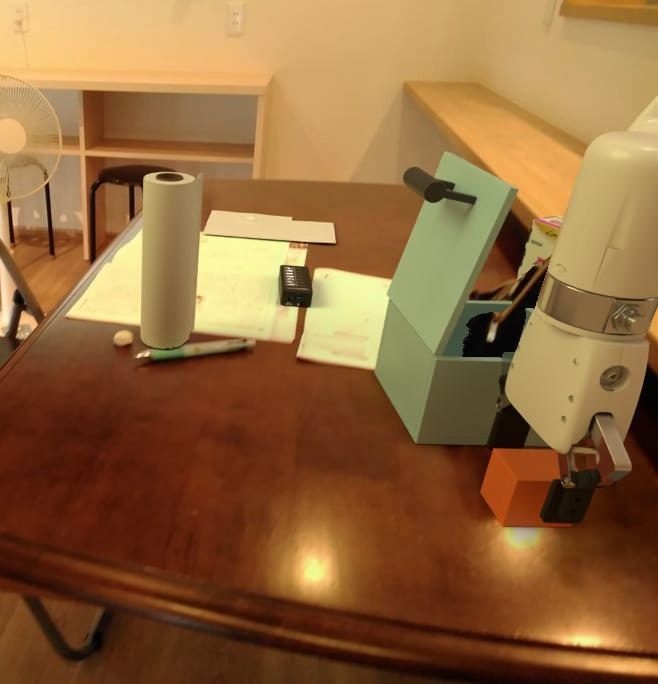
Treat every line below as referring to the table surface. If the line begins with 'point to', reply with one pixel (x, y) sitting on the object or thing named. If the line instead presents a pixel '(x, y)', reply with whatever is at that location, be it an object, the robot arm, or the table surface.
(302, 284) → the multiport hub
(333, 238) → the paper
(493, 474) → the block
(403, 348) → the box
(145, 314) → the paper towel roll
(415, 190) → the freezer lid
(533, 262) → the candy bar box
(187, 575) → the table surface
